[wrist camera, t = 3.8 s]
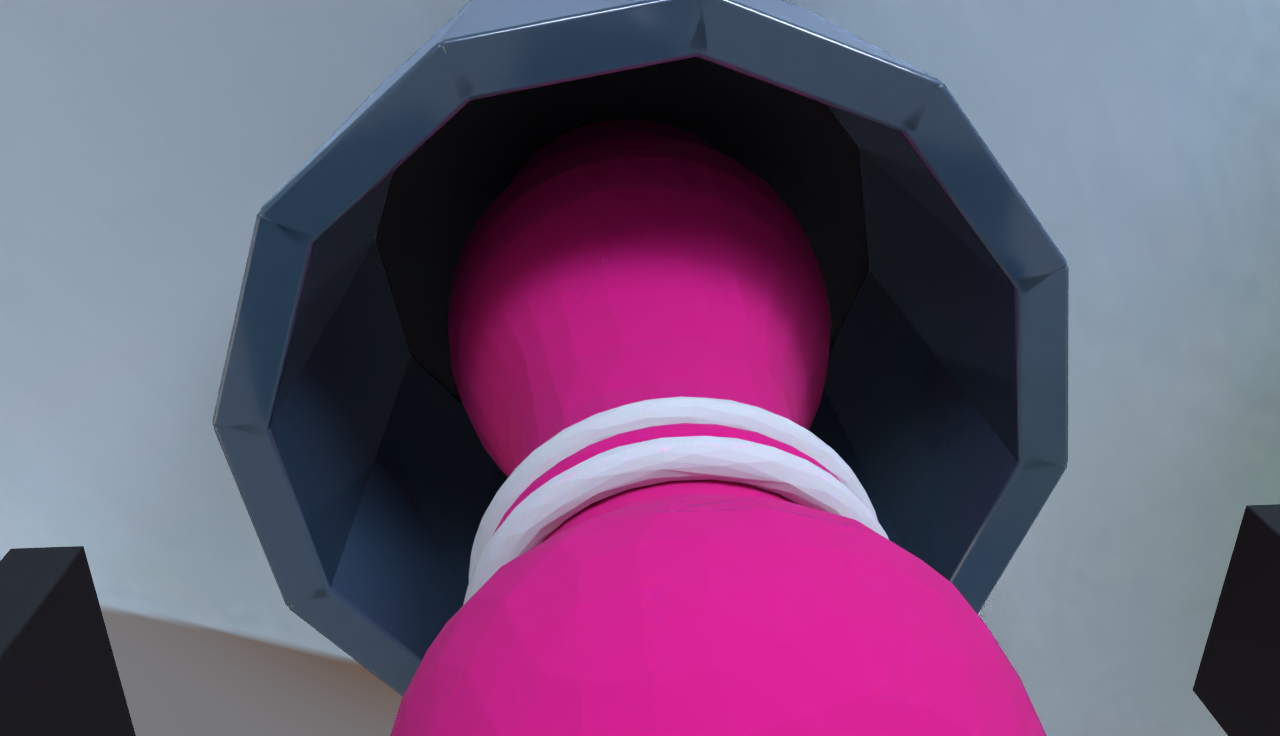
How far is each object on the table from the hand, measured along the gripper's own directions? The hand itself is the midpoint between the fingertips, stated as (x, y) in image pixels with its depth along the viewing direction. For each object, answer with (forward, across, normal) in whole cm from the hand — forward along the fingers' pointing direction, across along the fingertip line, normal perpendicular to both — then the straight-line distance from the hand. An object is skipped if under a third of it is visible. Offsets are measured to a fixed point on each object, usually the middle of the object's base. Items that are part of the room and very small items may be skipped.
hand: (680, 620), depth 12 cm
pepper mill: (+13, 0, 0) cm, 13 cm away
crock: (+13, 0, 0) cm, 13 cm away
